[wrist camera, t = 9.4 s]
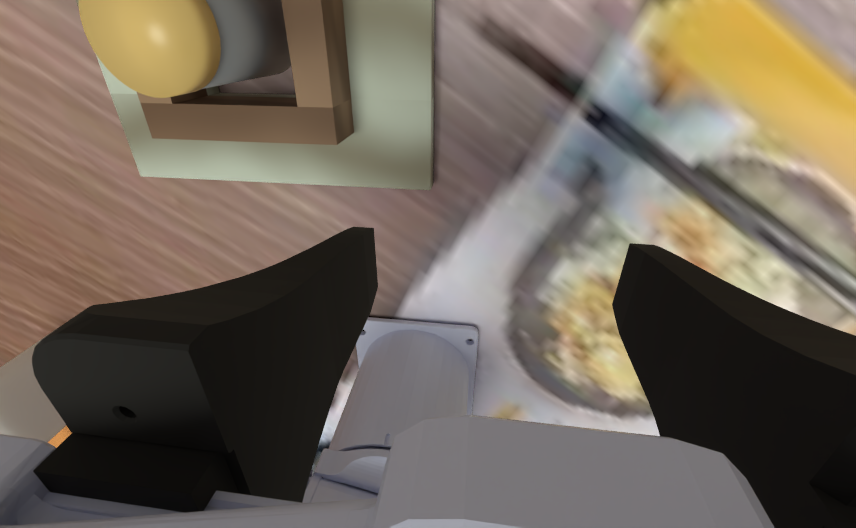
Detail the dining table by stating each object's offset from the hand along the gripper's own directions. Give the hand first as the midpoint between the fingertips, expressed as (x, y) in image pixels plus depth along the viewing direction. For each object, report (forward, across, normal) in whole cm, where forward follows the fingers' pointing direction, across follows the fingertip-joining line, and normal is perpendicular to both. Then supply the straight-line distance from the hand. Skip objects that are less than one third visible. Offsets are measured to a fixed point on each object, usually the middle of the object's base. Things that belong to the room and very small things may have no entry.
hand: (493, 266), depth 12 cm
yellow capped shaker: (+10, +11, -6) cm, 16 cm away
